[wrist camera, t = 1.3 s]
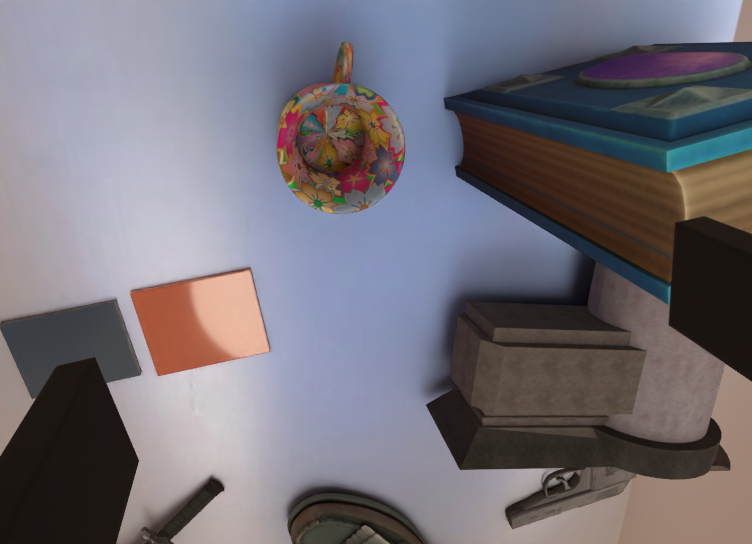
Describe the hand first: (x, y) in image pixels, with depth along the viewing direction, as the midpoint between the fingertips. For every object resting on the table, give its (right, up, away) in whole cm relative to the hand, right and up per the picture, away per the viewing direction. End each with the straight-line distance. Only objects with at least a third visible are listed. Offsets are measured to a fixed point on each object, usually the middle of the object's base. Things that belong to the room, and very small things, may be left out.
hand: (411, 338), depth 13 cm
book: (+17, +18, +41) cm, 48 cm away
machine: (+20, -16, +46) cm, 52 cm away
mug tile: (-17, -3, +41) cm, 45 cm away
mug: (-5, +15, +37) cm, 40 cm away
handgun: (+22, -18, +55) cm, 61 cm away
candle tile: (-29, -6, +40) cm, 50 cm away
